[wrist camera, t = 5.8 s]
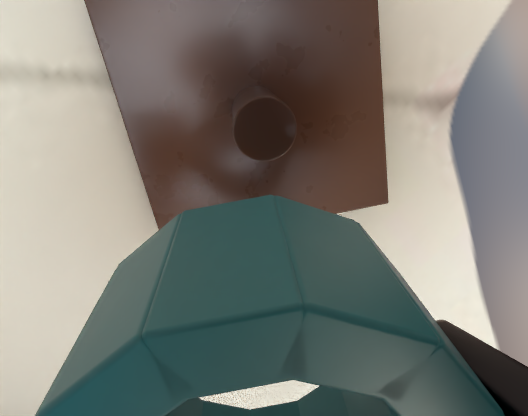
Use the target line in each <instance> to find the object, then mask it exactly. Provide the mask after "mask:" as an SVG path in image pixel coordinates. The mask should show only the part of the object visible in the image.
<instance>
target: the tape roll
mask: <svg viewBox="0 0 528 416" xmlns="http://www.w3.org/2000/svg"><path fill="white" fill-rule="evenodd" d="M289 380H297V381H301V382H306V383H310V384H315V385H319V387H318V388H316V389H315V390H313V391H312V392H310V393H308V394H307V395H305V396H304V397H302V398H301V399H299V400H298V401H294V402H289V403H283V404H278V405H272V406H267V407H262V408H256V409H251V410H249V409H244V408H239V407H234V406H229V405H224V404H219V403H214V402H209V401H204V400H201V399H200V398H198V397H204V396H209V395H214V394H220V393H225V392H231V391H236V390H241V389H247V388H252V387H257V386H263V385H268V384H273V383H279V382H284V381H289ZM35 416H505V415H504V414H503V411H502V409H501V408H500V407H499V405H498V404H497V403H496V401H495V400H494V399H493V397H492V396H491V395H490V393H489V392H488V391H487V389H486V388H485V387H484V385H483V384H482V383H481V381H480V380H479V379H478V377H477V376H476V375H475V373H474V372H473V371H472V369H471V368H470V367H469V365H468V364H467V362H466V361H465V360H464V358H463V357H462V356H461V354H460V353H459V352H458V350H457V349H456V348H455V346H454V345H453V344H452V342H451V341H450V340H449V338H448V337H447V336H446V334H445V333H444V332H443V330H442V329H441V328H440V326H439V325H438V324H437V322H436V321H435V320H434V318H433V317H432V316H431V314H430V313H429V312H428V310H427V309H426V308H425V306H424V305H423V304H422V302H421V301H420V300H419V298H418V297H417V296H416V294H415V293H414V292H413V290H412V289H411V288H410V286H409V285H408V284H407V282H406V281H405V280H404V278H403V277H402V276H401V274H400V273H399V272H398V271H397V269H396V268H395V267H394V266H393V265H392V263H391V262H390V261H389V260H388V258H387V257H386V256H385V255H384V253H383V252H382V251H381V250H380V249H379V247H378V246H377V245H376V244H375V242H374V241H373V240H372V239H371V237H370V236H369V235H368V234H367V233H366V231H365V230H364V229H363V228H362V226H361V225H360V224H359V223H357V222H355V221H354V220H352V219H349V218H346V217H342V216H339V215H336V214H333V213H330V212H327V211H324V210H321V209H318V208H315V207H311V206H308V205H305V204H302V203H299V202H296V201H293V200H290V199H287V198H284V197H281V196H273V195H266V196H261V197H255V198H250V199H245V200H239V201H234V202H228V203H223V204H218V205H212V206H207V207H202V208H196V209H191V210H186V211H183V212H182V213H181V214H178V215H177V216H175V217H174V218H173V219H172V220H171V221H170V222H168V223H167V224H166V225H165V226H164V227H162V228H161V229H160V230H159V231H158V232H156V233H155V234H154V235H153V236H152V237H151V238H149V239H148V240H147V241H146V242H145V243H143V244H142V245H141V246H140V247H139V248H137V249H136V250H135V251H134V252H133V253H132V254H130V255H129V256H128V257H127V258H126V259H124V260H123V261H122V262H121V263H120V264H119V265H118V267H117V269H116V270H115V271H114V273H113V275H112V277H111V279H110V280H109V282H108V284H107V286H106V288H105V290H104V291H103V293H102V295H101V297H100V299H99V300H98V302H97V304H96V306H95V308H94V309H93V311H92V313H91V315H90V317H89V319H88V320H87V322H86V324H85V326H84V328H83V329H82V331H81V333H80V335H79V337H78V338H77V340H76V342H75V344H74V346H73V347H72V349H71V351H70V353H69V355H68V357H67V358H66V360H65V362H64V364H63V366H62V367H61V369H60V371H59V373H58V375H57V376H56V378H55V380H54V382H53V384H52V386H51V387H50V389H49V391H48V393H47V395H46V396H45V398H44V400H43V402H42V404H41V405H40V407H39V409H38V411H37V413H36V415H35Z"/></svg>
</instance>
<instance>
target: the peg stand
mask: <svg viewBox="0 0 528 416" xmlns="http://www.w3.org/2000/svg"><path fill="white" fill-rule="evenodd" d="M84 1H85V4H86V7H87V10H88V13H89V16H90V19H91V22H92V25H93V29H94V32H95V35H96V38H97V41H98V44H99V47H100V50H101V53H102V56H103V59H104V62H105V65H106V69H107V72H108V75H109V78H110V81H111V84H112V87H113V90H114V93H115V96H116V99H117V102H118V106H119V109H120V112H121V115H122V118H123V121H124V124H125V127H126V130H127V133H128V136H129V139H130V142H131V146H132V149H133V152H134V155H135V158H136V161H137V164H138V167H139V170H140V173H141V176H142V179H143V182H144V186H145V189H146V192H147V195H148V198H149V201H150V204H151V207H152V210H153V213H154V216H155V219H156V223H157V226H158V229H159V230H160V229H161V228H162V227H164V226H165V225H166V224H167V223H168V222H170V221H171V220H172V219H173V218H174V217H175V216H177V215H178V214H181V213H182V212H183V211H186V210H191V209H196V208H202V207H207V206H212V205H218V204H223V203H228V202H234V201H239V200H245V199H250V198H255V197H261V196H266V195H273V196H281V197H284V198H287V199H290V200H293V201H296V202H299V203H302V204H305V205H308V206H311V207H315V208H318V209H321V210H324V211H327V212H330V213H333V214H336V213H341V212H346V211H351V210H356V209H361V208H366V207H371V206H376V205H381V204H386V203H388V187H387V168H386V149H385V130H384V111H383V92H382V73H381V54H380V35H379V16H378V0H84Z"/></svg>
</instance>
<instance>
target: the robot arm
mask: <svg viewBox="0 0 528 416" xmlns="http://www.w3.org/2000/svg"><path fill="white" fill-rule="evenodd" d="M436 322H437V324H438V325H439V326H440V328H441V329H442V330H443V332H444V333H445V334H446V336H447V337H448V338H449V340H450V341H451V342H452V344H453V345H454V346H455V348H456V349H457V350H458V352H459V353H460V354H461V356H462V357H463V358H464V360H465V361H466V362H467V364H468V365H469V367H470V368H471V369H472V371H473V372H474V373H475V375H476V376H477V377H478V379H479V380H480V381H481V383H482V384H483V385H484V387H485V388H486V389H487V391H488V392H489V393H490V395H491V396H492V397H493V399H494V400H495V401H496V403H497V404H498V405H499V407H500V408H501V409H502V411H503V414H504V415H505V416H528V367H527V366H525V365H523V364H522V363H520V362H518V361H516V360H515V359H513V358H511V357H509V356H508V355H506V354H504V353H502V352H501V351H499V350H497V349H495V348H493V347H492V346H490V345H488V344H486V343H485V342H483V341H481V340H479V339H478V338H476V337H474V336H472V335H471V334H469V333H467V332H465V331H464V330H462V329H460V328H458V327H457V326H455V325H453V324H451V323H449V322H448V321H445V320H437V321H436Z"/></svg>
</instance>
